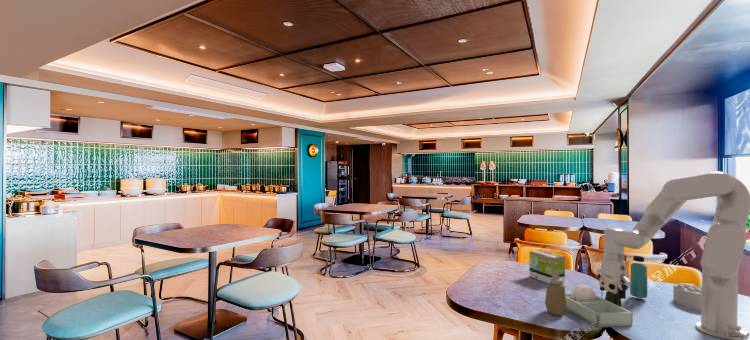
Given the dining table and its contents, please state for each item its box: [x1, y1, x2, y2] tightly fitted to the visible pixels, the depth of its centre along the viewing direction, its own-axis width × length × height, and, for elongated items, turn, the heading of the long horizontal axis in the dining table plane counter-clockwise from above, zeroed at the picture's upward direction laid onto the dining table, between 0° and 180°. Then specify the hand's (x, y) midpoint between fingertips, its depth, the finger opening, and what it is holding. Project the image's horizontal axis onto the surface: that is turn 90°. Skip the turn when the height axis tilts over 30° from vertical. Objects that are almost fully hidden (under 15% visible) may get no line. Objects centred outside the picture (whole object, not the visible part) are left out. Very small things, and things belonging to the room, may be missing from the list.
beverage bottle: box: [629, 255, 649, 299], centre depth 160 cm, size 6×7×20 cm
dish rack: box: [565, 292, 634, 329], centre depth 142 cm, size 22×15×5 cm
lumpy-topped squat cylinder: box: [672, 282, 702, 311], centre depth 154 cm, size 10×13×9 cm
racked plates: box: [571, 284, 597, 301], centre depth 148 cm, size 3×9×9 cm, turn 98°
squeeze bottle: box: [544, 270, 567, 317], centre depth 143 cm, size 8×8×18 cm
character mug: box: [598, 275, 623, 307], centre depth 152 cm, size 11×7×13 cm, turn 74°
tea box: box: [528, 249, 566, 284], centre depth 186 cm, size 15×10×15 cm, turn 25°
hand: (612, 294), depth 152 cm, fingers open, 9 cm apart
